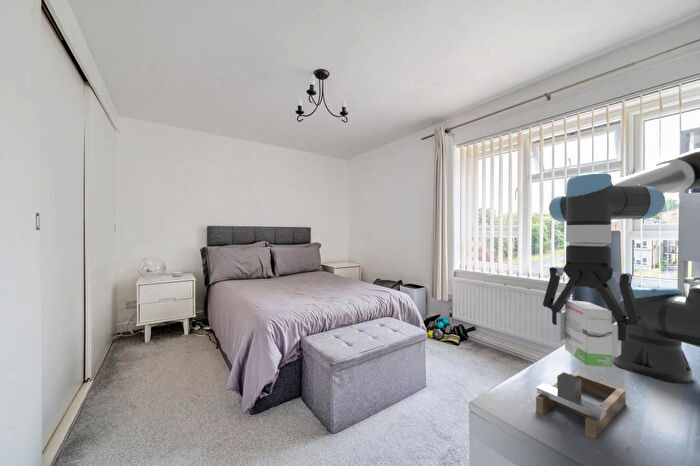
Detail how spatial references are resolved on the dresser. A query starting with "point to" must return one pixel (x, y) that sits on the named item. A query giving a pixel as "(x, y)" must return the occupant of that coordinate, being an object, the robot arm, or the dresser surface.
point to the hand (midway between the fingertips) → (586, 346)
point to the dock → (612, 404)
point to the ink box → (588, 333)
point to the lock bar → (571, 395)
